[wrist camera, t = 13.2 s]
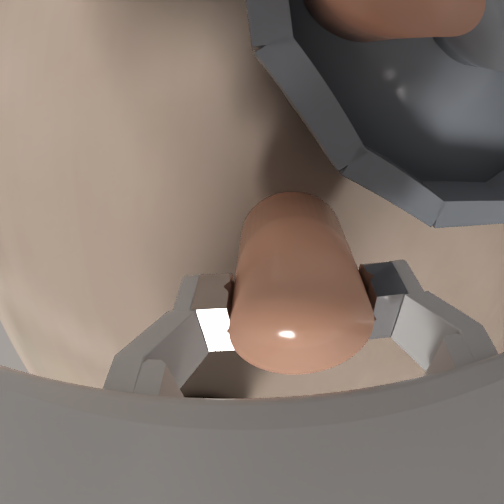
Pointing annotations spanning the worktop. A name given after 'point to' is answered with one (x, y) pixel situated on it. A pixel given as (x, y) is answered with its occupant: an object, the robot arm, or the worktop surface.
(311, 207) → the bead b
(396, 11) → the peach egg shape
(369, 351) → the worktop surface
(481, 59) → the tray
